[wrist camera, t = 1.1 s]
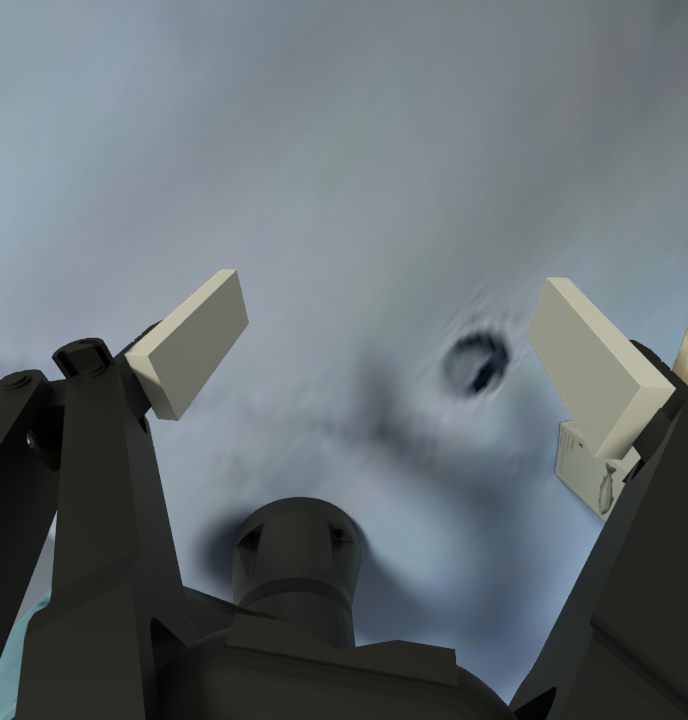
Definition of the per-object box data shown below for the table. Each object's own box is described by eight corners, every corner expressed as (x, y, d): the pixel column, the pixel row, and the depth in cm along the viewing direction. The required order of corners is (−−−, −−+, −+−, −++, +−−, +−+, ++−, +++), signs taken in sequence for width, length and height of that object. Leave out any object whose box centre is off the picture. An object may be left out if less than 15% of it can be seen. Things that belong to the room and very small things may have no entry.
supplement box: (557, 420, 38) (667, 497, 26) (618, 412, 39) (754, 484, 27) (551, 474, 41) (649, 567, 29) (609, 465, 41) (730, 554, 29)
